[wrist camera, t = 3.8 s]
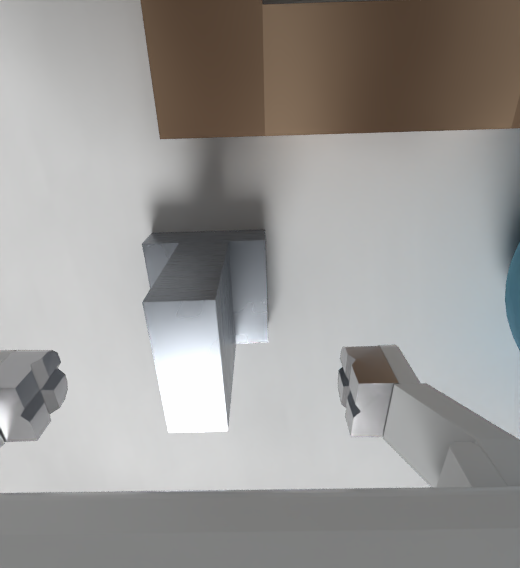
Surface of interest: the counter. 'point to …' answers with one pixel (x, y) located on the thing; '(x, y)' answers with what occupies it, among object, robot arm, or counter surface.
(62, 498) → the robot arm
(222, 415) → the bracket
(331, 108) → the block
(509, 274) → the casserole dish
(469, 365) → the counter surface
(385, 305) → the counter surface
